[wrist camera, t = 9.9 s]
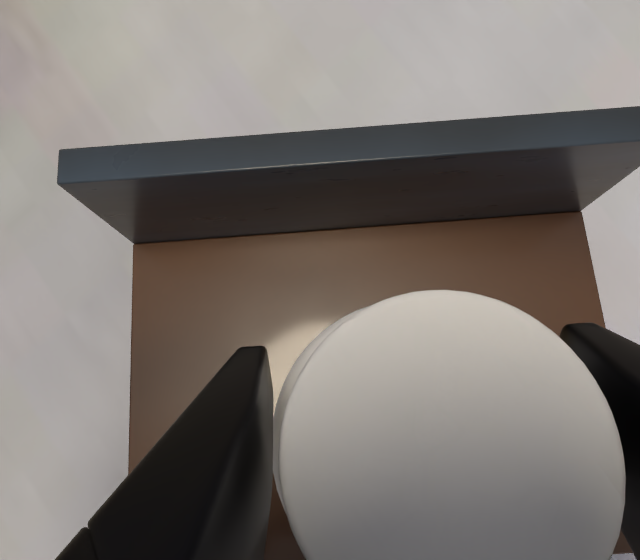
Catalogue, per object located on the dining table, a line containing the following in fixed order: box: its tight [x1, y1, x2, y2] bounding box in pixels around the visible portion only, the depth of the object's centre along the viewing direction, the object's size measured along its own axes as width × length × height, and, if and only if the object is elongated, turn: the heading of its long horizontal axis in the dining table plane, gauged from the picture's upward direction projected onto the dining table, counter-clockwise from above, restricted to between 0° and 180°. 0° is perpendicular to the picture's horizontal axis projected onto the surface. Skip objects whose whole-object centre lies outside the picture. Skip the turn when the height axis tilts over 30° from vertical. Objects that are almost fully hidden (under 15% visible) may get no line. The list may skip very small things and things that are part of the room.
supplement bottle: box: [273, 290, 626, 560], centre depth 10 cm, size 5×5×8 cm
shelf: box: [57, 106, 640, 560], centre depth 16 cm, size 12×16×9 cm
